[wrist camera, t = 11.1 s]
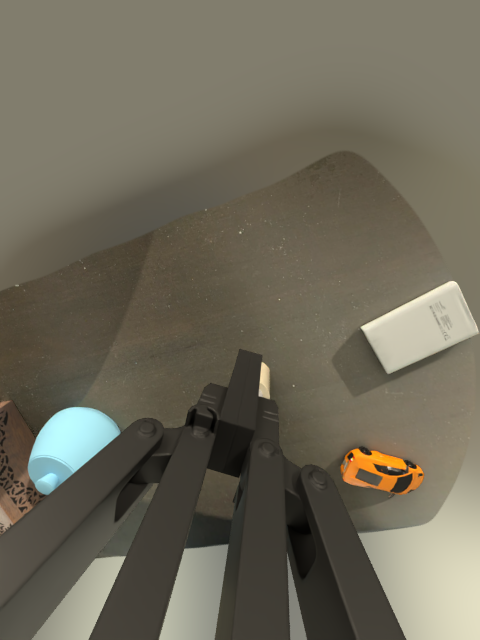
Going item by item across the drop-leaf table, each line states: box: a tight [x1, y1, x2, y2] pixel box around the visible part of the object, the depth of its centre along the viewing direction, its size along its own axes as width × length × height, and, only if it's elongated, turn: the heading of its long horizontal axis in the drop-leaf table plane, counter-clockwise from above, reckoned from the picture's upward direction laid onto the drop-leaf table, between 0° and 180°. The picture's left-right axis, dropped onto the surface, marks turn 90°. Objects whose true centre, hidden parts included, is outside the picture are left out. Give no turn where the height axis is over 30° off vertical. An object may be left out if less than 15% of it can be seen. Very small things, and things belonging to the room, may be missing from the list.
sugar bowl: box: [28, 407, 121, 495], centre depth 45 cm, size 15×15×12 cm
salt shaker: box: [259, 362, 270, 399], centre depth 38 cm, size 5×5×8 cm
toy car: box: [341, 447, 424, 498], centre depth 43 cm, size 12×12×3 cm
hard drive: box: [360, 281, 479, 374], centre depth 36 cm, size 2×8×12 cm
